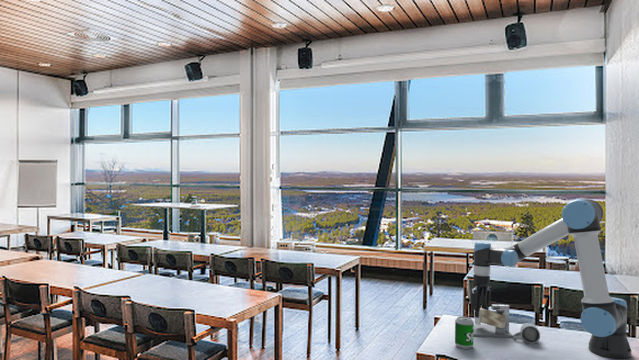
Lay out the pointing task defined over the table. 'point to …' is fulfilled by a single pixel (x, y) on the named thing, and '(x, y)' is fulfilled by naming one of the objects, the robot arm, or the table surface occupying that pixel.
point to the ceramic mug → (528, 333)
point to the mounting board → (490, 331)
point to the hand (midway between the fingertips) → (480, 323)
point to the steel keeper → (506, 308)
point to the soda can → (464, 332)
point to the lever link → (493, 317)
